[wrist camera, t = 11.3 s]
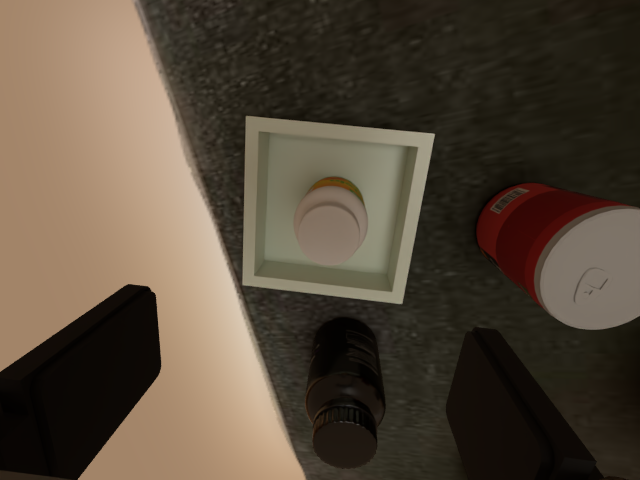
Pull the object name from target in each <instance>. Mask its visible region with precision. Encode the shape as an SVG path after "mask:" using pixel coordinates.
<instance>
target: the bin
mask: <svg viewBox="0 0 640 480" xmlns="http://www.w3.org/2000/svg"><path fill="white" fill-rule="evenodd" d="M434 136H435V134H430V133H419V132H409V131H398V130H388V129H378V128H367V127H357V126H346V125H336V124H325V123H315V122H305V121H294V120H284V119H273V118H263V117H253V116H246V137H245V187H244V237H243V285H247V286H255V287H264V288H272V289H280V290H289V291H297V292H305V293H314V294H322V295H331V296H339V297H347V298H356V299H364V300H372V301H381V302H389V303H397V304H402V302H403V297H404V291H405V286H406V281H407V276H408V271H409V266H410V260H411V255H412V250H413V245H414V240H415V234H416V229H417V224H418V219H419V214H420V208H421V203H422V198H423V193H424V188H425V182H426V177H427V172H428V167H429V162H430V157H431V151H432V146H433V141H434ZM331 176H338V177H343V178H345V179H348V180H349V181H351V182H352V183H354V184H355V185H356V186H357V188H358V189H359V190H360V192H361V194H362V197H363V200H364V204H365V208H366V212H367V216H368V230H367V234H366V237H365V240H364V241H363V243H362V245H361V246H360V247H359V248H358V249H357V250H356V251H355V253H354V254H353V255H352V256H351V257H350V258H349V259H348V260H346V261H345V262H343V263H340V264H337V265H330V266H329V265H321V264H318V263H315V262H314V261H312V260H310V259H309V258H308V257H307V256H306V255H305V254H304V253H303V251H302V250H301V248H300V246H299V243H298V240H297V238H296V235H295V232H294V225H293V224H294V215H295V211H296V209H297V207H298V205H299V203H300V201H301V200H302V199H303V198H304V196H305V195H306V193H307V192H308V190H309V189H310V188H311V187H312V186H313V185H314V184H315V183H316V182H317V181H319V180H321V179H323V178H326V177H331Z"/></svg>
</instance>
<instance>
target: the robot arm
mask: <svg viewBox="0 0 640 480" xmlns="http://www.w3.org/2000/svg"><path fill="white" fill-rule="evenodd" d="M160 369H161V355H160V342H159V329H158V317H157V304H156V295H155V293H154V292H151V290H150V288H149V287H148V286H140V285H132V284H128V285H126V286H124V287H123V288H121V289H120V290H118V291H117V292H115V293H114V294H113V295H111V296H110V297H108V298H107V299H105V300H104V301H102V302H101V303H99V304H98V305H97V306H96V307H94V308H92V309H91V310H89V311H88V312H86V313H85V314H84V315H82V316H81V317H79V318H78V319H76V320H75V321H73V322H72V323H70V324H69V325H68V326H66V327H65V328H63V329H62V330H60V331H59V332H57V333H56V334H55V335H53V336H52V337H50V338H49V339H47V340H46V341H44V342H43V343H42V344H40V345H39V346H37V347H36V348H34V349H33V350H31V351H30V352H28V353H27V354H26V355H24V356H23V357H21V358H20V359H19V360H17V361H15V362H14V363H13V364H11V365H10V366H8V367H7V368H5V369H4V370H2V371H1V372H0V480H78V478H79V477H80V476H81V474H82V473H83V472H84V471H85V469H86V468H87V467H88V465H89V464H90V463H91V462H92V460H93V459H94V458H95V456H96V455H97V454H98V453H99V451H100V450H101V449H102V447H103V446H104V445H105V444H106V442H107V441H108V440H109V438H110V437H111V436H112V435H113V433H114V432H115V431H116V429H117V428H118V427H119V425H120V424H121V423H122V422H123V420H124V419H125V418H126V417H127V415H128V414H129V413H130V411H131V410H132V409H133V408H134V406H135V405H136V404H137V403H138V401H139V400H140V399H141V397H142V396H143V395H144V393H145V392H146V391H147V390H148V388H149V387H150V386H151V385H152V383H153V382H154V380H155V379H156V378H157V377H158V375H159V373H160ZM446 414H447V418H448V421H449V424H450V427H451V430H452V433H453V436H454V438H455V441H456V444H457V447H458V450H459V453H460V456H461V459H462V461H463V464H464V467H465V470H466V473H467V476H468V479H469V480H627V479H624V478H621V477H612V476H608V477H605V478H604V477H603V475H602V474H601V473H600V471H599V470H598V469H597V467H596V466H595V464H596V460H595V459H594V458H593V456H592V455H591V454H590V452H589V451H588V450H587V448H586V447H585V446H584V444H583V443H582V442H581V440H580V439H579V438H578V436H577V435H576V434H575V432H574V431H573V430H572V428H571V427H570V426H569V424H568V423H567V422H566V420H565V419H564V418H563V416H562V415H561V414H560V412H559V411H558V410H557V408H556V407H555V406H554V404H553V403H552V402H551V400H550V399H549V398H548V396H547V395H546V394H545V392H544V391H543V390H542V388H541V387H540V386H539V385H538V383H537V382H536V381H535V379H534V378H533V377H532V375H531V374H530V373H529V371H528V370H527V369H526V367H525V366H524V365H523V363H522V362H521V361H520V359H519V358H518V357H517V355H516V354H515V353H514V351H513V350H512V349H511V347H510V346H509V345H508V343H507V342H506V341H505V339H504V338H503V337H502V335H501V334H500V333H499V332H498V331H497V330H495V329H487V328H479V327H475V328H473V330H472V332H471V331H468V332H467V333H466V335H465V338H464V341H463V345H462V349H461V352H460V356H459V360H458V363H457V367H456V370H455V374H454V378H453V381H452V385H451V389H450V392H449V396H448V399H447V404H446Z"/></svg>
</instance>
